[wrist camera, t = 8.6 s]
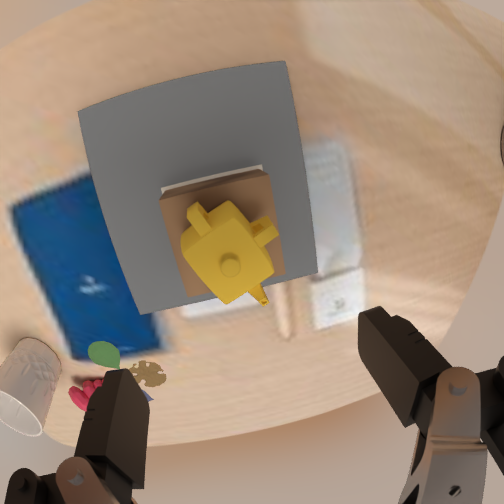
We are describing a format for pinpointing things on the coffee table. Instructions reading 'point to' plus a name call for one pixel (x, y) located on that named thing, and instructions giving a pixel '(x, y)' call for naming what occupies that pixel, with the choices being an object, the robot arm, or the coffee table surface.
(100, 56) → the coffee table surface
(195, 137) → the gray board
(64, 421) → the coffee table surface
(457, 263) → the coffee table surface
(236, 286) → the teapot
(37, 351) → the white cup
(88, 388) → the toy pieces
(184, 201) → the base block
